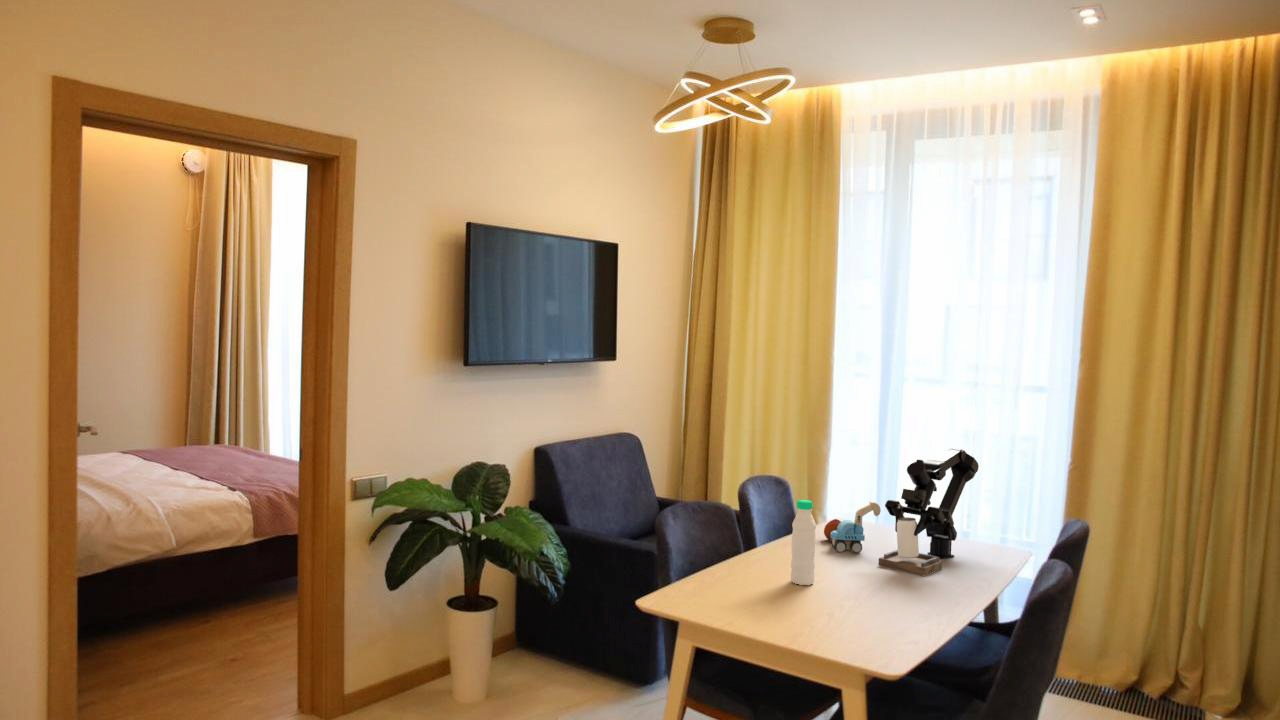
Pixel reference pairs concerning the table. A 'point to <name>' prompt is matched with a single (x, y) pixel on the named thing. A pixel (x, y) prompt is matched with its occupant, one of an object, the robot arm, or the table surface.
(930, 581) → the table surface
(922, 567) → the dock
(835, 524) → the fruit
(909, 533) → the can
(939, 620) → the table surface
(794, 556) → the water bottle
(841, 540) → the toy excavator
